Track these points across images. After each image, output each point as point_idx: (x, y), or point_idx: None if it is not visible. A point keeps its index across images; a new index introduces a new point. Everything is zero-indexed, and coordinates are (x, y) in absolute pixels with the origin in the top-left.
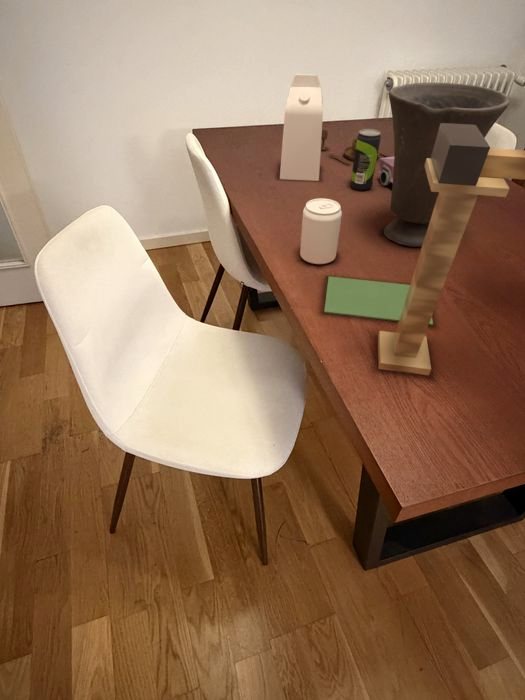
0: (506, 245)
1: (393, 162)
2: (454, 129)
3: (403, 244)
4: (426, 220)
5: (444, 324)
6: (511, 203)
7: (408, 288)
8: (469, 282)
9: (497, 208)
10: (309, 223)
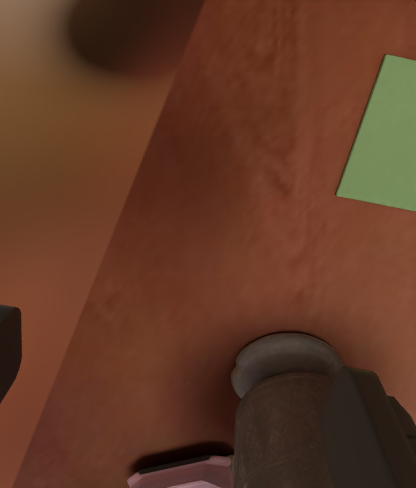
0: (98, 337)
1: None
2: None
3: (320, 340)
4: (301, 376)
5: (354, 59)
6: (36, 467)
7: (380, 189)
8: (229, 213)
9: (70, 453)
10: None
